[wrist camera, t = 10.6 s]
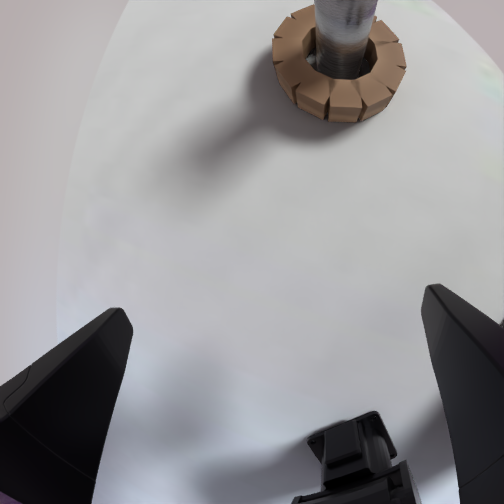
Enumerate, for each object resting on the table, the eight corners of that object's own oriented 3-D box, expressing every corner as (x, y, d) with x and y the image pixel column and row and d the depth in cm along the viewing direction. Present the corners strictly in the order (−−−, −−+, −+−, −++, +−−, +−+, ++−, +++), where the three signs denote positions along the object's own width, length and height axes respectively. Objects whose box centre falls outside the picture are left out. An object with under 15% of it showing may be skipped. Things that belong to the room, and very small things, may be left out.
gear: (417, 93, 18) (429, 77, 15) (320, 143, 20) (321, 130, 17) (349, 12, 18) (351, -9, 15) (256, 53, 20) (248, 33, 17)
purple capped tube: (364, 84, 19) (401, -38, 6) (322, 89, 19) (323, -39, 7) (351, 50, 18) (369, -75, 6) (311, 55, 19) (299, -74, 6)
